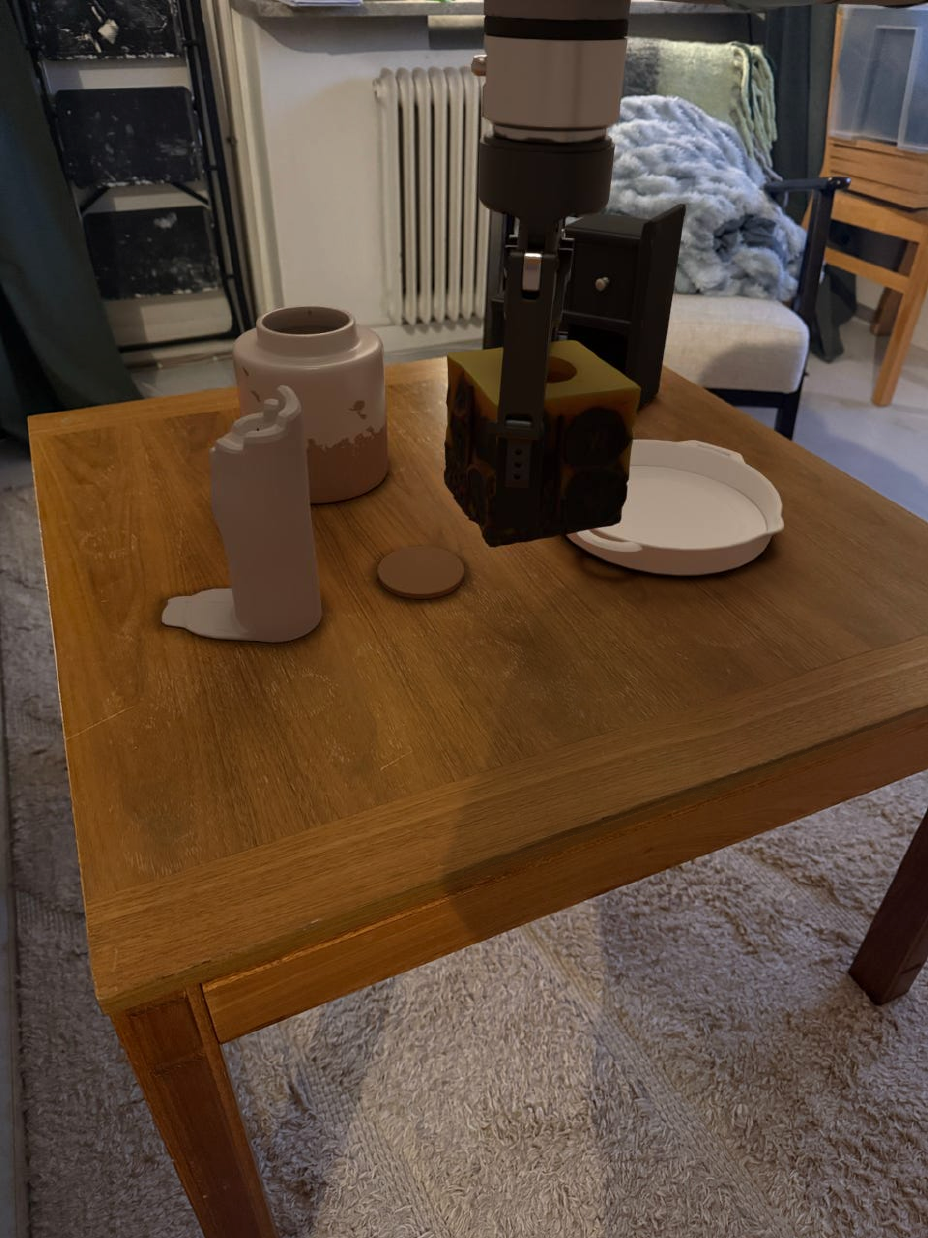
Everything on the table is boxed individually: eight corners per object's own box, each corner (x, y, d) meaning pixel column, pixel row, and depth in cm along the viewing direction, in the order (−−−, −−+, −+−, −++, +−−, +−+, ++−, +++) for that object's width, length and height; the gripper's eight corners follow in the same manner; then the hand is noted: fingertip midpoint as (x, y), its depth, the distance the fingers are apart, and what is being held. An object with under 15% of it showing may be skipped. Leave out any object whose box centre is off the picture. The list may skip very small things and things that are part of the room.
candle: (488, 552, 56) (494, 408, 51) (439, 483, 64) (439, 351, 58) (626, 527, 59) (647, 388, 53) (563, 464, 67) (575, 336, 61)
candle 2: (175, 586, 77) (128, 370, 65) (329, 595, 77) (309, 378, 65) (147, 636, 72) (90, 408, 60) (312, 645, 71) (288, 417, 59)
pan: (819, 507, 91) (829, 473, 89) (714, 629, 74) (724, 591, 72) (616, 443, 103) (620, 411, 101) (484, 535, 85) (485, 500, 83)
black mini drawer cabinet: (467, 385, 116) (472, 194, 102) (504, 360, 124) (513, 180, 110) (630, 424, 107) (660, 221, 93) (659, 395, 115) (691, 203, 101)
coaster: (470, 555, 83) (470, 550, 82) (456, 603, 76) (456, 598, 76) (388, 547, 83) (388, 541, 83) (368, 594, 77) (368, 588, 77)
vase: (224, 465, 96) (199, 314, 86) (339, 430, 104) (329, 287, 94) (295, 520, 87) (277, 358, 77) (416, 476, 95) (413, 324, 85)
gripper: (504, 101, 58) (492, 402, 71) (445, 165, 38) (443, 568, 51) (616, 105, 57) (583, 409, 70) (616, 173, 37) (570, 580, 50)
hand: (524, 476), depth 60 cm, fingers closed on candle, 13 cm apart
